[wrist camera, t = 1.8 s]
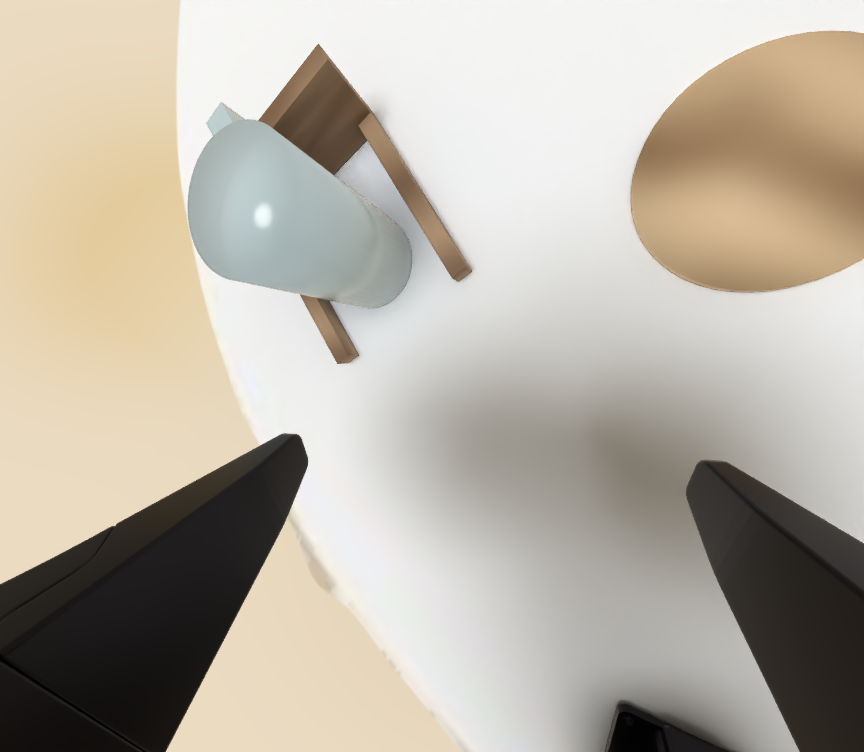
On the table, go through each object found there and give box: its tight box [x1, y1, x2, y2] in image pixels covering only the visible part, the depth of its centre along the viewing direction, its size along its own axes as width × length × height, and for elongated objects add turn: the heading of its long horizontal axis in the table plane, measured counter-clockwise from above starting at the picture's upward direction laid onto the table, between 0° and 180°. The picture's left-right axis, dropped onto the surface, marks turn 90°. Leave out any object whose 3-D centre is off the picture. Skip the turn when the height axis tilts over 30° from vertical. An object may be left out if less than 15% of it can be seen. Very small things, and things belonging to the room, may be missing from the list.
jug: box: [188, 102, 412, 308], centre depth 17 cm, size 9×6×10 cm, turn 33°
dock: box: [258, 44, 472, 364], centre depth 19 cm, size 12×10×5 cm
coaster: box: [631, 31, 864, 292], centre depth 14 cm, size 10×10×1 cm
